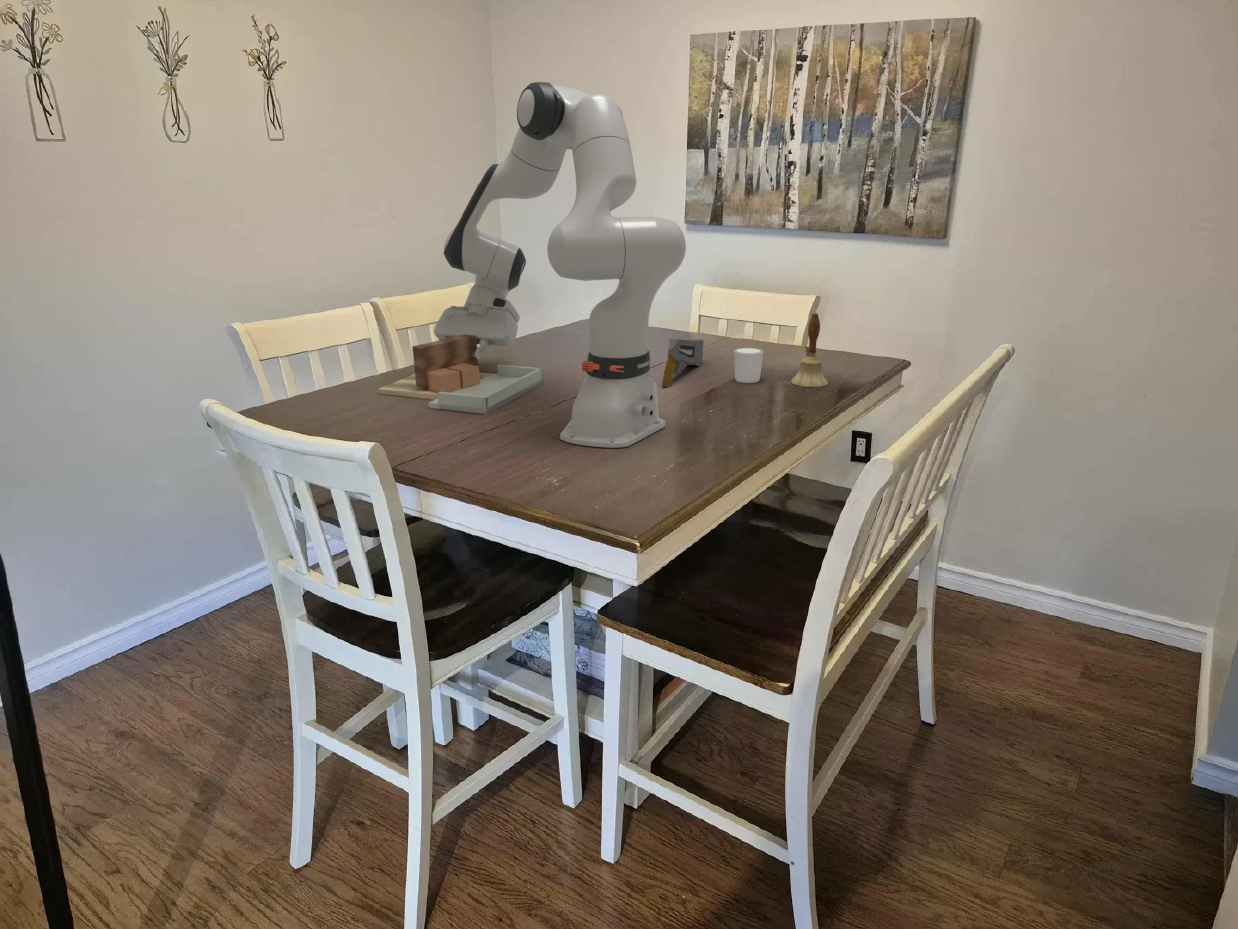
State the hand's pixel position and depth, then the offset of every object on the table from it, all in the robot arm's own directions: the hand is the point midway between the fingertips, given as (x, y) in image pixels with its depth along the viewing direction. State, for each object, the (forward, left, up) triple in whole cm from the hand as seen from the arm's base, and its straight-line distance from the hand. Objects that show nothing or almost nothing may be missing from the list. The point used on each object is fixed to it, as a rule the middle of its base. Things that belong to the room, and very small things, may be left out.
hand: (465, 357), depth 193 cm
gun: (+24, -45, -6) cm, 52 cm away
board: (-5, +5, -6) cm, 9 cm away
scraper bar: (-5, +2, -4) cm, 7 cm away
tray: (-7, -10, -6) cm, 14 cm away
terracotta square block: (-5, -2, -5) cm, 7 cm away
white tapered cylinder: (+24, -61, -6) cm, 66 cm away
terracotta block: (-10, -1, -5) cm, 12 cm away
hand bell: (+26, -75, -6) cm, 80 cm away
